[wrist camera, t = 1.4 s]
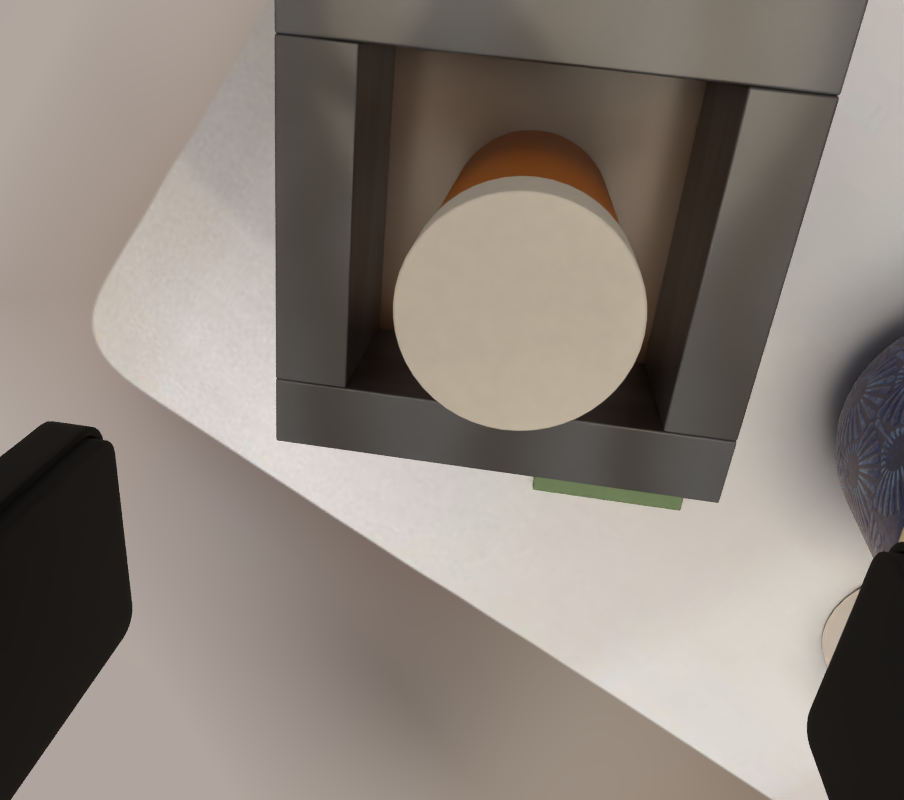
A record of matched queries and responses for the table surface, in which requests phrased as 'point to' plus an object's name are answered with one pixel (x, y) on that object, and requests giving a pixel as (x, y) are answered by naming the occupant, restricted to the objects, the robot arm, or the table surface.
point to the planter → (875, 449)
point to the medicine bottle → (522, 289)
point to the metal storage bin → (627, 180)
